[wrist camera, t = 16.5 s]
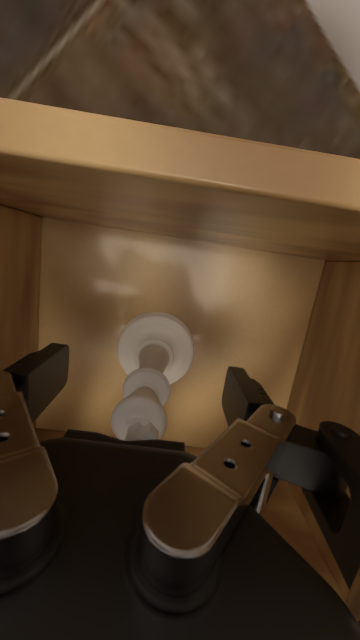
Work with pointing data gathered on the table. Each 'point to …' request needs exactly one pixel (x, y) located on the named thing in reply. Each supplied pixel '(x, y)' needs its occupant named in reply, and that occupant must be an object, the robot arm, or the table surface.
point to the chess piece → (150, 373)
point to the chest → (183, 275)
